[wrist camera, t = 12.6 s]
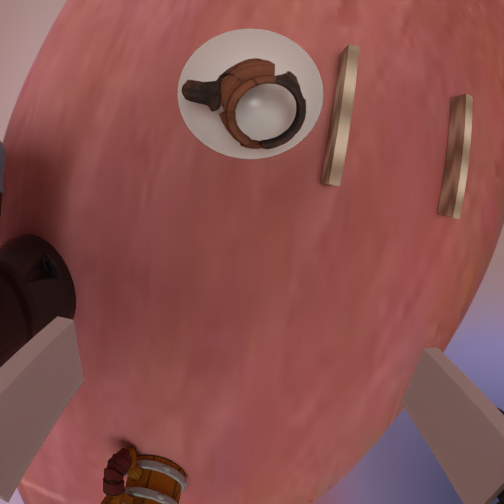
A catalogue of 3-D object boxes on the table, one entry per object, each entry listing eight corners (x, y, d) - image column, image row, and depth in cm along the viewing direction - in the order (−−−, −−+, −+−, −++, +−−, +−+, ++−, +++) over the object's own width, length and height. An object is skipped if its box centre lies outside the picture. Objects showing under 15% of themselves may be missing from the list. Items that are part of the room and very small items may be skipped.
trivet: (165, 148, 31) (165, 148, 31) (194, 23, 28) (194, 22, 28) (310, 172, 32) (311, 172, 32) (330, 45, 29) (330, 44, 29)
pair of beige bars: (443, 215, 34) (459, 219, 30) (320, 183, 33) (328, 183, 29) (457, 101, 30) (472, 97, 27) (340, 54, 29) (349, 43, 26)
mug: (154, 488, 45) (141, 545, 30) (100, 438, 41) (72, 499, 27) (199, 482, 44) (191, 546, 29) (145, 429, 41) (120, 501, 26)
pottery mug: (294, 61, 29) (323, 72, 23) (280, 135, 35) (303, 163, 29) (184, 51, 26) (184, 57, 20) (179, 131, 32) (178, 159, 26)
